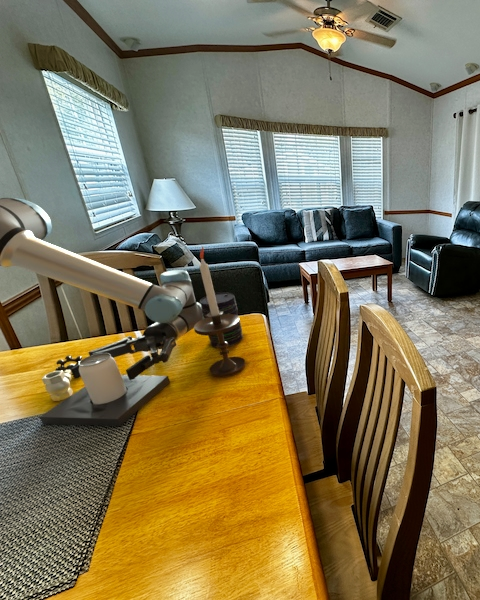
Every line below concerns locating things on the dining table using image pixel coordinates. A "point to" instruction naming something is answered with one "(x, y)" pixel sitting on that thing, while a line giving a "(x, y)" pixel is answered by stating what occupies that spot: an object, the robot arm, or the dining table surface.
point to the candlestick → (218, 328)
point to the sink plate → (106, 404)
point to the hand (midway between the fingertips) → (101, 374)
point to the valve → (60, 379)
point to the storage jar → (228, 307)
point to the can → (102, 378)
